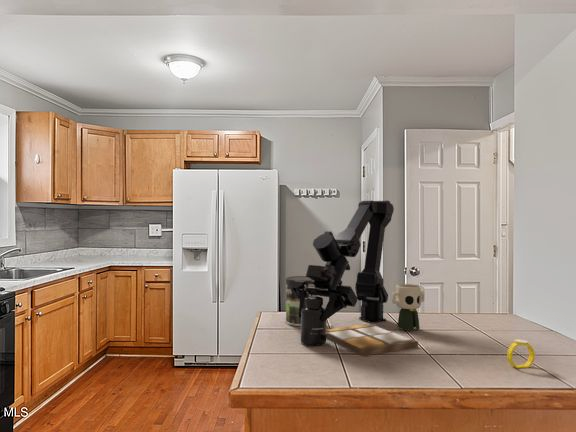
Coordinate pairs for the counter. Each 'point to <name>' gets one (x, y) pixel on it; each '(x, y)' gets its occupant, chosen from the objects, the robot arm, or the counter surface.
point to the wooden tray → (369, 339)
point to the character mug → (408, 305)
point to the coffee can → (294, 300)
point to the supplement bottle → (313, 322)
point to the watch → (511, 349)
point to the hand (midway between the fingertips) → (310, 318)
